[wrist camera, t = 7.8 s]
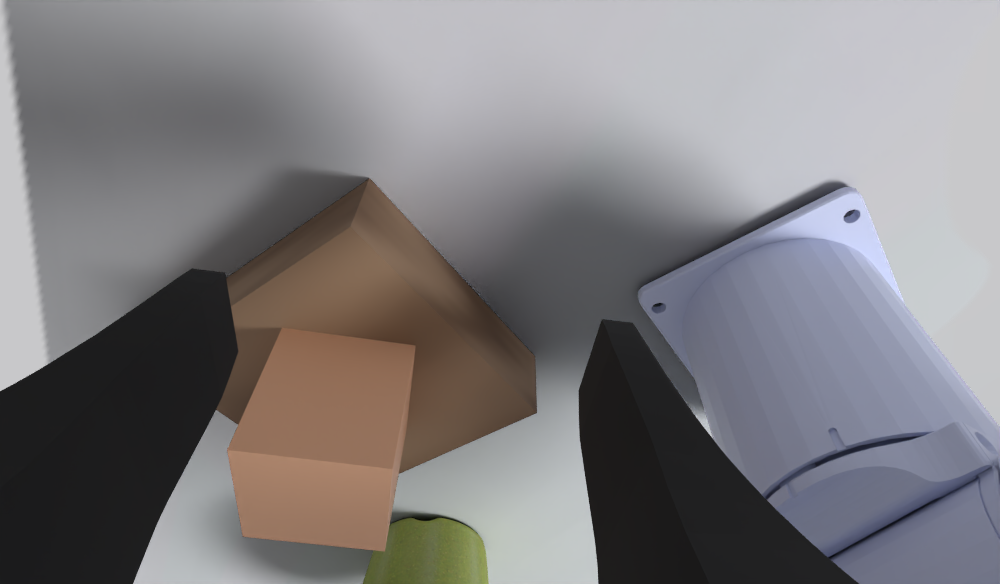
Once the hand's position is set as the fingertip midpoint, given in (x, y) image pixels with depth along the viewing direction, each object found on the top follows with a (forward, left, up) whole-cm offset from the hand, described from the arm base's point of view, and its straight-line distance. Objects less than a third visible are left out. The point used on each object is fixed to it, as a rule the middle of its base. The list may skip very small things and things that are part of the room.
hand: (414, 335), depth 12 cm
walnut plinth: (-5, +8, -9) cm, 13 cm away
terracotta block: (-4, +8, -6) cm, 11 cm away
